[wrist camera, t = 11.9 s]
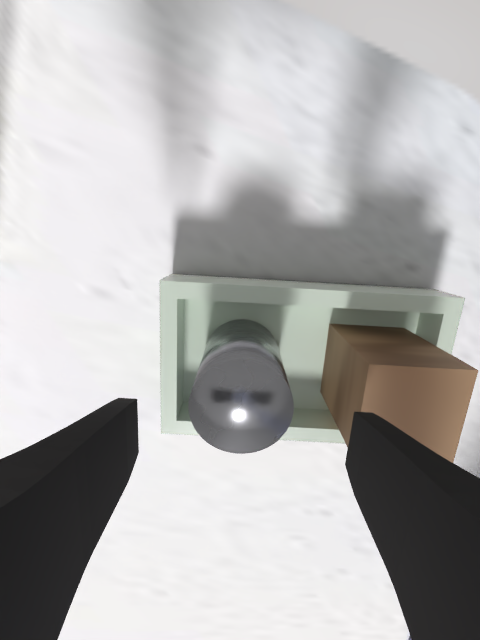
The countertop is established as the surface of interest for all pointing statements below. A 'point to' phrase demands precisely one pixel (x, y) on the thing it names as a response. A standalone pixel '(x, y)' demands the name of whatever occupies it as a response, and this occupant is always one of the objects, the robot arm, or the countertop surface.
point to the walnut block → (397, 384)
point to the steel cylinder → (241, 389)
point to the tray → (285, 334)
